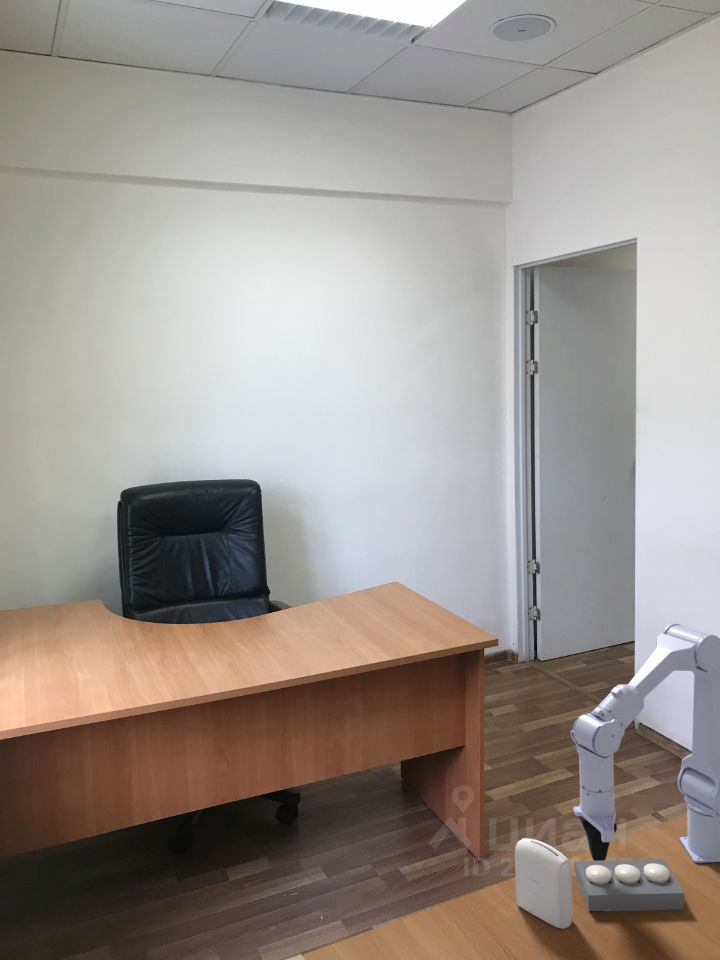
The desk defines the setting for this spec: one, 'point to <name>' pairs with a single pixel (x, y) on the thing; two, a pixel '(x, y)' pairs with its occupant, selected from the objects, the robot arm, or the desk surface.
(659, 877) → the knob
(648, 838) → the desk surface
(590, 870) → the knob
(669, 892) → the mount
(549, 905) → the photo printer
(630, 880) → the knob middle
